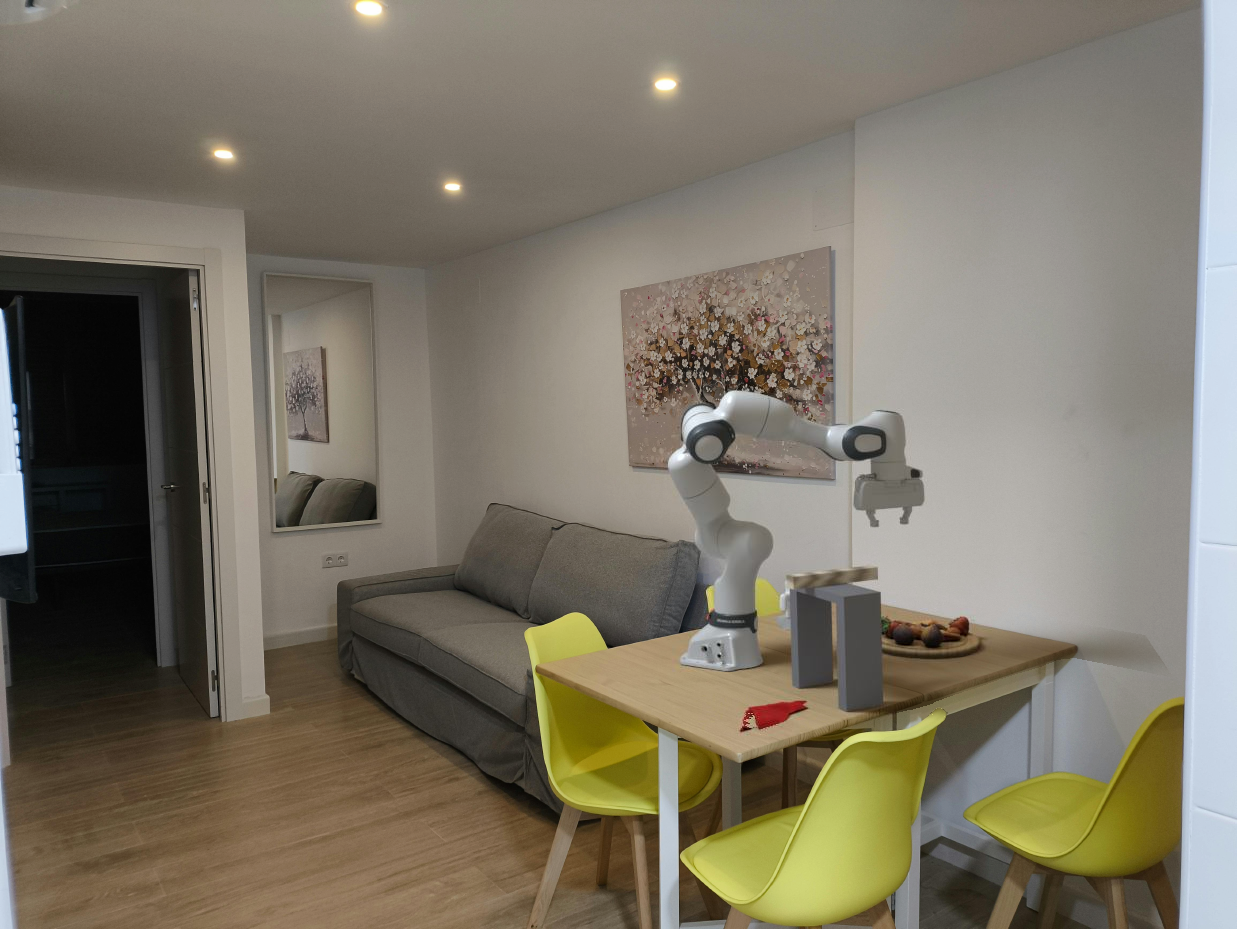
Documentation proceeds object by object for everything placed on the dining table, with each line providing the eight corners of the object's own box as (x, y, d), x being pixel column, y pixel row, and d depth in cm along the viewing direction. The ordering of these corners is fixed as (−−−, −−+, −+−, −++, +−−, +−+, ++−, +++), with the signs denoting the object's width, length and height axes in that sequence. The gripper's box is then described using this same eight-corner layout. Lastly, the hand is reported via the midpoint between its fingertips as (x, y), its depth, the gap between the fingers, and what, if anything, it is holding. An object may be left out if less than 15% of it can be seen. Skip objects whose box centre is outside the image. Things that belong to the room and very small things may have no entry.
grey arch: (846, 711, 192) (843, 596, 190) (792, 685, 212) (789, 581, 211) (883, 705, 195) (880, 592, 194) (826, 679, 216) (823, 577, 214)
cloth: (791, 698, 205) (791, 688, 204) (835, 713, 193) (835, 703, 193) (706, 722, 190) (706, 712, 190) (748, 740, 179) (748, 729, 179)
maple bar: (793, 589, 200) (793, 576, 200) (786, 587, 203) (786, 575, 203) (877, 579, 209) (877, 567, 209) (870, 577, 212) (869, 565, 212)
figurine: (772, 629, 268) (771, 582, 268) (789, 624, 275) (788, 577, 274) (792, 633, 263) (791, 584, 262) (809, 627, 270) (807, 580, 269)
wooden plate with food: (961, 630, 260) (960, 603, 260) (996, 659, 229) (996, 629, 228) (853, 632, 264) (853, 605, 263) (874, 661, 232) (873, 630, 231)
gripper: (862, 475, 216) (864, 529, 217) (927, 471, 223) (928, 523, 224) (847, 474, 222) (848, 527, 223) (911, 470, 229) (912, 521, 230)
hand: (889, 525), depth 223 cm, fingers open, 8 cm apart
